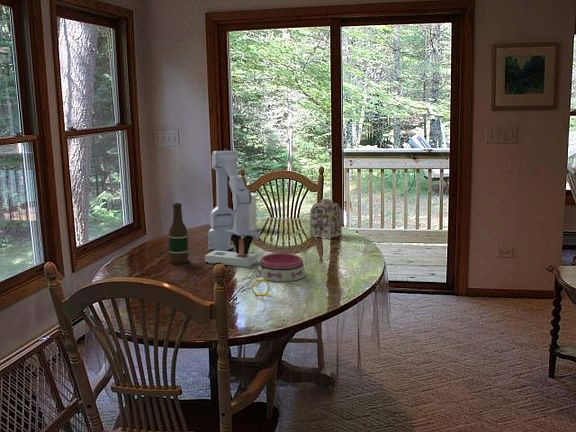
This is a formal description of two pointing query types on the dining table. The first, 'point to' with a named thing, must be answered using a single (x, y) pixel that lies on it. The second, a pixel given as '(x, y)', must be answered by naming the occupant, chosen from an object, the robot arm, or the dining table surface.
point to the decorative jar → (325, 219)
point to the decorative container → (252, 213)
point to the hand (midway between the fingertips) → (242, 253)
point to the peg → (241, 248)
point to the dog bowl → (281, 268)
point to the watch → (260, 281)
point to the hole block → (230, 258)
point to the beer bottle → (178, 237)
